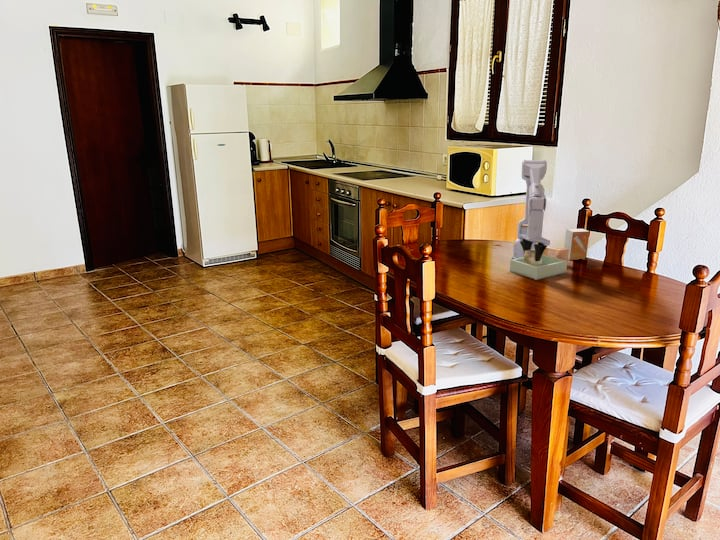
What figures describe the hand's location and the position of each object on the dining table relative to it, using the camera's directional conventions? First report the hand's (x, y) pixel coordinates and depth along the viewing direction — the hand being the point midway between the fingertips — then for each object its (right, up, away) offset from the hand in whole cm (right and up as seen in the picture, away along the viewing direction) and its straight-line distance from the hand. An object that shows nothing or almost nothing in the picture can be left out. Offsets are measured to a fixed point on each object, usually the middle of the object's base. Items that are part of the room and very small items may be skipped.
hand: (532, 259), depth 221 cm
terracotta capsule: (+17, -2, +14) cm, 22 cm away
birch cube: (0, -1, +1) cm, 2 cm away
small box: (+27, +1, +24) cm, 36 cm away
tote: (+3, -5, +4) cm, 7 cm away
